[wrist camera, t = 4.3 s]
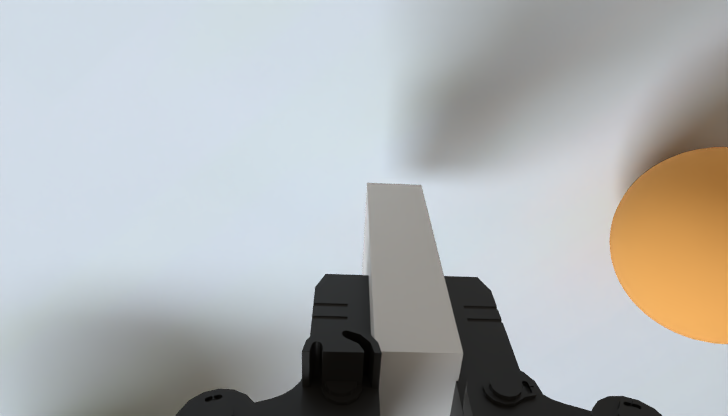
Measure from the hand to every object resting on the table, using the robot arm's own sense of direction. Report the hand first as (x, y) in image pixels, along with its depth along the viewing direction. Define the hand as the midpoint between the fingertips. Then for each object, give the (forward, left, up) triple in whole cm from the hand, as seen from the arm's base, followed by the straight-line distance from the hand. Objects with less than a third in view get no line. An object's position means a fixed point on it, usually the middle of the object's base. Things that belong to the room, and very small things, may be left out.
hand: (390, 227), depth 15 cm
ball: (0, -9, 0) cm, 9 cm away
